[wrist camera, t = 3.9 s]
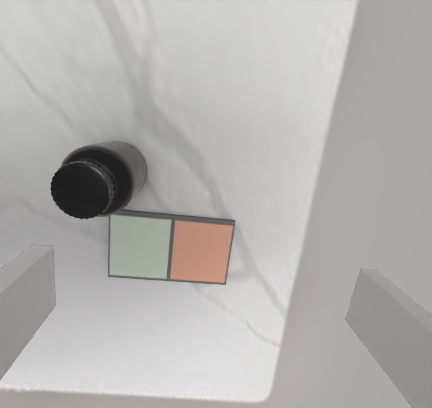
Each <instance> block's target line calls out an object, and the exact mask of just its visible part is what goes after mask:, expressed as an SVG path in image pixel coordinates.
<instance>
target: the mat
mask: <svg viewBox="0 0 432 408" xmlns="http://www.w3.org/2000/svg"><path fill="white" fill-rule="evenodd" d="M234 226H235V220H226V219H215V218H204V217H194V216H183V215H172V214H162V213H151V212H140V211H130V210H120V211H119V212H117V213H115V214H113V215H110V216H109V256H108V277H118V278H133V279H148V280H162V281H177V282H191V283H206V284H220V285H226V278H227V272H228V265H229V258H230V252H231V245H232V239H233V232H234Z"/></svg>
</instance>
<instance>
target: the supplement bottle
mask: <svg viewBox="0 0 432 408" xmlns="http://www.w3.org/2000/svg"><path fill="white" fill-rule="evenodd" d="M146 176H147V166H146V162H145V160H144V158H143V156H142V155H141V153H140V152H139V151H138V150H137V149H136V148H134V147H133V146H131V145H129V144H127V143H124V142H119V141H112V142H105V143H99V144H94V145H89V146H84V147H81V148H78V149H76V150H74V151H73V152H71V153H70V154H69V155H68V156H67V157H66V158H65V159H64V161H63V162H62V165H61V167H60V168H59V170H58V171H57V172H56V173H55V176H54V177H53V178H52V182H51V191H52V192H51V195H52V196H53V200H54V201H55V202H56V205H57V206H59V208H60V209H61V210H63V211H64V213H66V214H68V215H69V216H73V217H75V218H80V219H84V218H85V219H89V218H94V217H105V216H110V215H113V214H115V213H117V212H119V211H120V210H122V209H123V208H124V207H125V206H126V205H127V204H128V203H129V202H130V201H131V199H132V198H133V197H134V196H135V195H136V194H137V192H138V191H139V190H140V189H141V188H142V186H143V185H144V183H145V180H146Z"/></svg>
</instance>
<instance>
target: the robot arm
mask: <svg viewBox="0 0 432 408" xmlns="http://www.w3.org/2000/svg"><path fill="white" fill-rule="evenodd" d="M55 306H56V294H55V273H54V252H53V246H44V245H32V246H30V247H29V248H28V249H27V250H25V251H24V252H23V253H21V254H20V255H19V256H18V257H16V258H15V259H14V260H12V261H11V262H10V263H9V264H7V265H6V266H5V267H3V268H2V269H1V270H0V380H1V379H2V377H3V376H4V375H5V373H6V372H7V371H8V369H9V368H10V367H11V365H12V364H13V362H14V361H15V360H16V358H17V357H18V356H19V354H20V353H21V352H22V350H23V349H24V348H25V346H26V345H27V344H28V342H29V341H30V340H31V338H32V337H33V335H34V334H35V333H36V331H37V330H38V329H39V327H40V326H41V325H42V323H43V322H44V321H45V319H46V318H47V317H48V315H49V314H50V313H51V311H52V310H53V308H54V307H55ZM345 320H346V321H347V323H348V324H349V325H350V327H351V328H352V329H353V331H354V332H355V333H356V334H357V336H358V337H359V339H360V340H361V341H362V342H363V344H364V345H365V346H366V348H367V349H368V350H369V352H370V353H371V354H372V356H373V357H374V358H375V360H376V361H377V362H378V363H379V365H380V366H381V367H382V369H383V370H384V371H385V373H386V374H387V375H388V376H389V378H390V379H391V381H392V382H393V383H394V384H395V386H396V387H397V388H398V390H399V391H400V392H401V394H402V395H403V396H404V398H405V399H406V400H407V402H408V403H409V404H410V405H411V406H412V408H432V315H431V314H430V313H429V312H428V311H426V310H425V309H424V308H423V307H421V306H420V305H419V304H418V303H416V302H415V301H414V300H413V299H412V298H410V297H409V296H408V295H407V294H405V293H404V292H403V291H402V290H401V289H399V288H398V287H397V286H396V285H394V284H393V283H392V282H391V281H389V280H388V279H387V278H386V277H384V276H383V275H382V274H381V273H380V272H378V271H377V270H375V269H360V271H359V275H358V278H357V281H356V285H355V288H354V291H353V295H352V298H351V301H350V305H349V308H348V312H347V315H346V318H345Z"/></svg>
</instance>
